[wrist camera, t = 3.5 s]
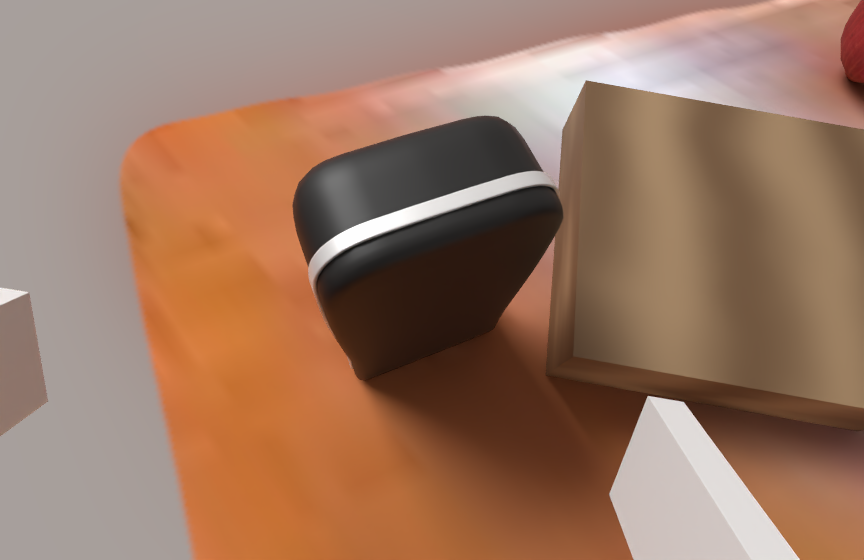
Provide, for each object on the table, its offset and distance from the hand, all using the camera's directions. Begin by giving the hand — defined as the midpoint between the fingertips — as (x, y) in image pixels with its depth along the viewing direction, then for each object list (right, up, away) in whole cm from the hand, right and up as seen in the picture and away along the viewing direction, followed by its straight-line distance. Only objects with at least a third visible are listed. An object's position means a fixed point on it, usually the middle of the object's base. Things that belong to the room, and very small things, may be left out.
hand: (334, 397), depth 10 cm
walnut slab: (+15, +3, +14) cm, 21 cm away
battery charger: (+1, +1, +11) cm, 12 cm away
